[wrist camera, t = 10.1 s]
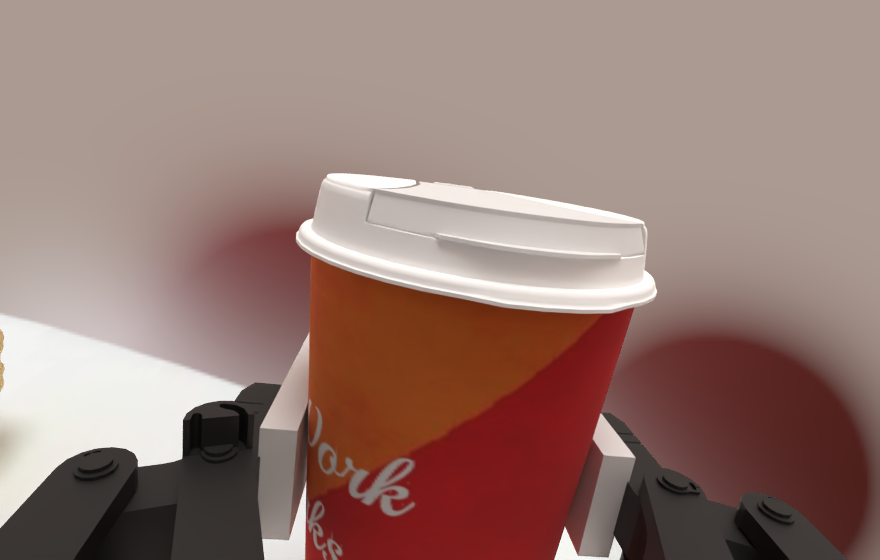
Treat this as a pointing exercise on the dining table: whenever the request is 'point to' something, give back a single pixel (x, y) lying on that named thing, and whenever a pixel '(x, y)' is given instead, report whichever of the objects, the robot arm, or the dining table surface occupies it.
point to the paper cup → (457, 365)
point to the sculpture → (0, 365)
